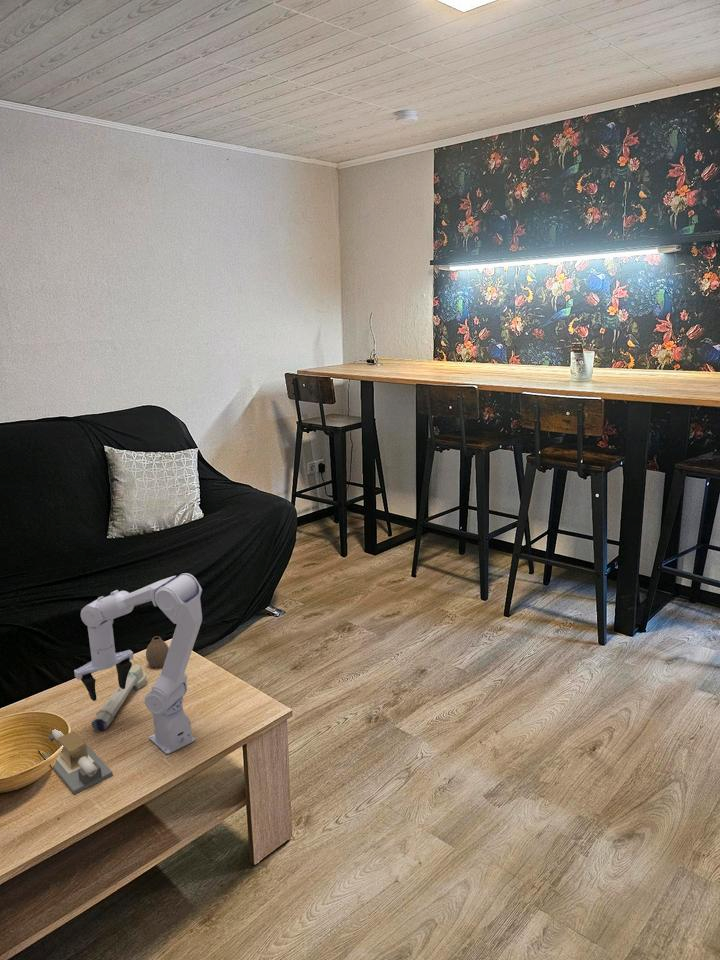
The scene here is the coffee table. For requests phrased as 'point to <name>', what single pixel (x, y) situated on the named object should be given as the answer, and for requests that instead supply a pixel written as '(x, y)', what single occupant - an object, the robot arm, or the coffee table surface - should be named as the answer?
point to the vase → (157, 652)
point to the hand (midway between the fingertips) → (108, 693)
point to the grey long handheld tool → (119, 698)
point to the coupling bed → (75, 775)
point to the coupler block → (72, 749)
